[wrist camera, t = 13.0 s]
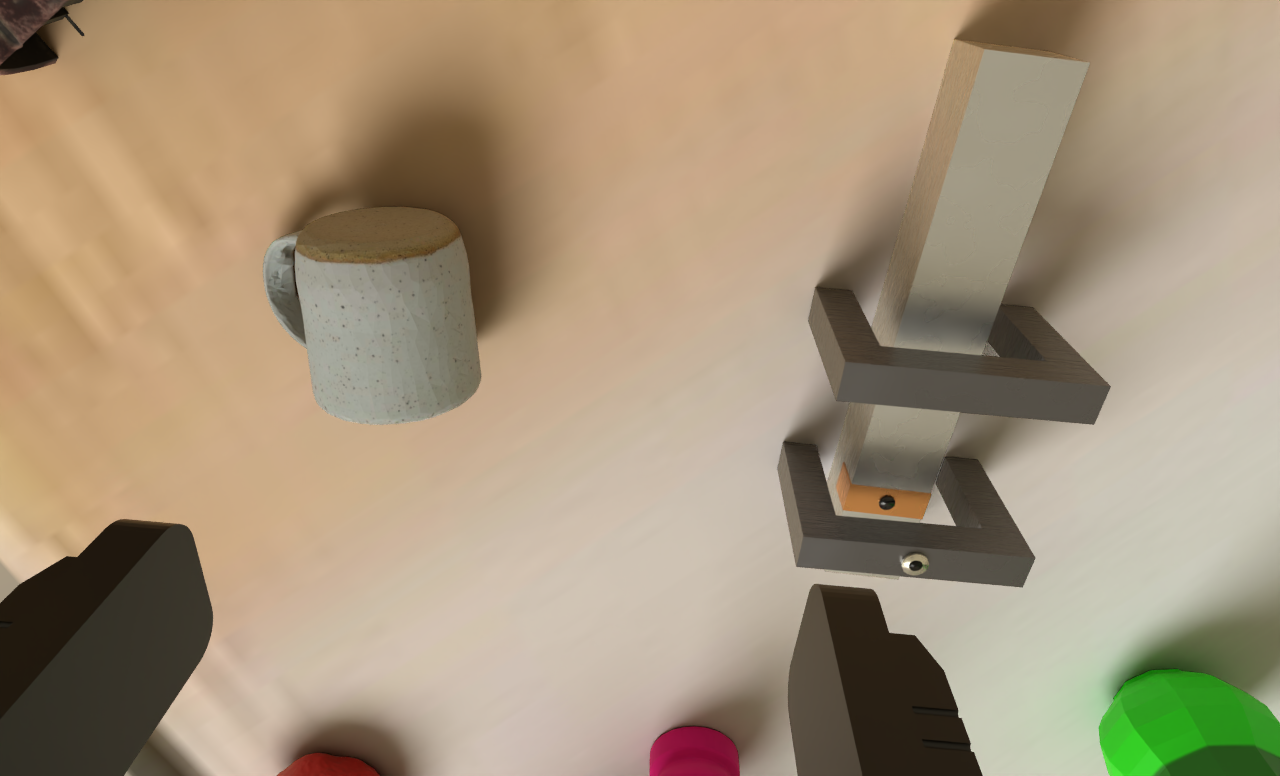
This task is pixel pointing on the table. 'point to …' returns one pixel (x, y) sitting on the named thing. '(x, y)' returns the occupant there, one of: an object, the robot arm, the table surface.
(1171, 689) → the plastic bottle
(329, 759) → the pomegranate
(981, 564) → the collar
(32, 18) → the diary
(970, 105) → the orange banded bar
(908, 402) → the collar
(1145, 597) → the table surface
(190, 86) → the table surface
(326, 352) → the ceramic mug
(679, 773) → the pepper mill
